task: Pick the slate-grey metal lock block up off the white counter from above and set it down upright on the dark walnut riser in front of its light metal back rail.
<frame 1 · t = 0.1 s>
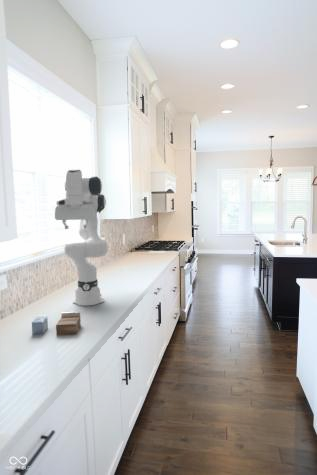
hand: (76, 228, 171), 48 cm above the countertop, fingers open, 8 cm apart
walnut riser: (69, 330, 160), on the countertop
lock block: (40, 331, 159), on the countertop
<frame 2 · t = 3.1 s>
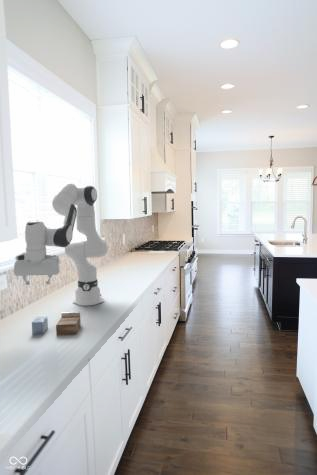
hand: (37, 284, 157), 23 cm above the countertop, fingers open, 8 cm apart
nothing on the countertop moved.
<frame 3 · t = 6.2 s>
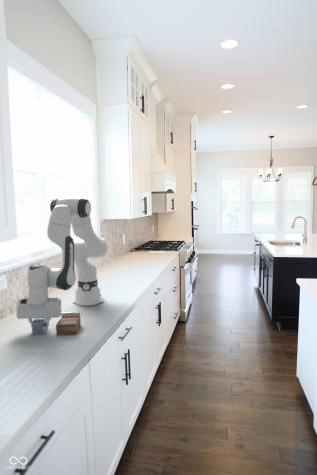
hand: (40, 326, 159), 2 cm above the countertop, fingers closed on lock block, 5 cm apart
lock block: (40, 331, 159), on the countertop, touching gripper
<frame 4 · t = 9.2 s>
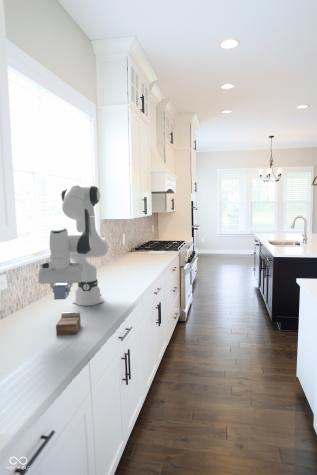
hand: (61, 292, 157), 19 cm above the countertop, fingers closed on lock block, 5 cm apart
lock block: (61, 296, 157), point 17 cm above the countertop, touching gripper
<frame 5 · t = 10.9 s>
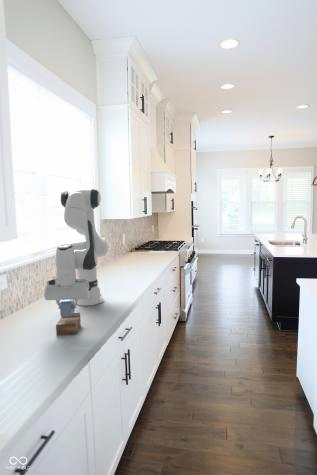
hand: (67, 308, 158), 11 cm above the countertop, fingers closed on lock block, 5 cm apart
lock block: (67, 313, 158), point 9 cm above the countertop, touching gripper
when the fingers open (9 cm above the countertop, at t = 12.2 s): lock block drops 1 cm, resting on walnut riser.
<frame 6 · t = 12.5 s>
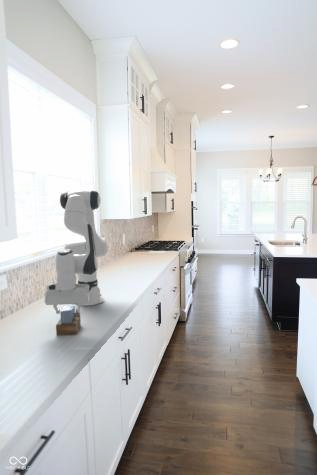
hand: (67, 313, 158), 9 cm above the countertop, fingers open, 8 cm apart
lock block: (68, 320, 159), point 5 cm above the countertop, touching walnut riser
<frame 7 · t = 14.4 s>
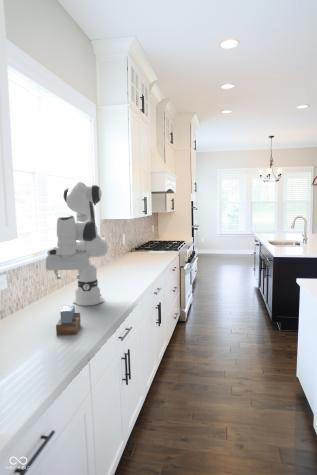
hand: (68, 278, 158), 25 cm above the countertop, fingers open, 8 cm apart
nothing on the countertop moved.
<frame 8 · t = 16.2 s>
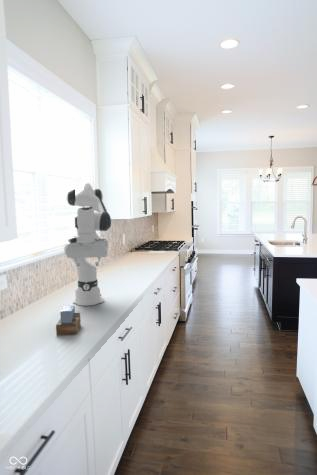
hand: (87, 266, 168), 29 cm above the countertop, fingers open, 8 cm apart
nothing on the countertop moved.
at the end: lock block inside the target area on the walnut riser (0.4 cm from its centre), point 5.0 cm above the walnut riser's base; lock block tilted 0°; the gripper is holding nothing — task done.
